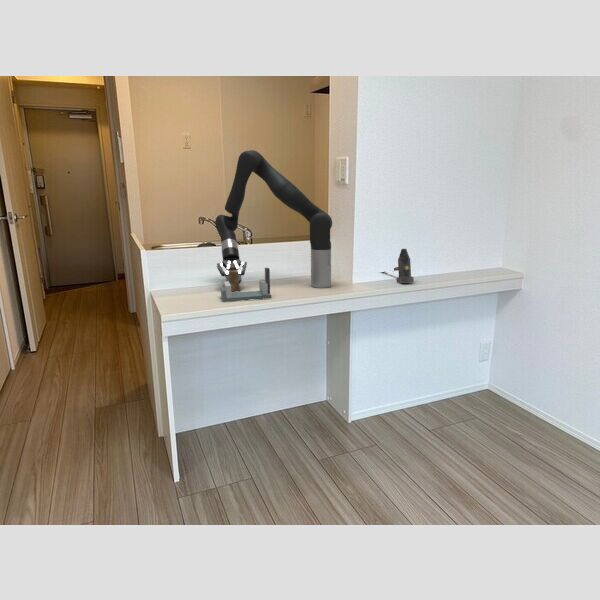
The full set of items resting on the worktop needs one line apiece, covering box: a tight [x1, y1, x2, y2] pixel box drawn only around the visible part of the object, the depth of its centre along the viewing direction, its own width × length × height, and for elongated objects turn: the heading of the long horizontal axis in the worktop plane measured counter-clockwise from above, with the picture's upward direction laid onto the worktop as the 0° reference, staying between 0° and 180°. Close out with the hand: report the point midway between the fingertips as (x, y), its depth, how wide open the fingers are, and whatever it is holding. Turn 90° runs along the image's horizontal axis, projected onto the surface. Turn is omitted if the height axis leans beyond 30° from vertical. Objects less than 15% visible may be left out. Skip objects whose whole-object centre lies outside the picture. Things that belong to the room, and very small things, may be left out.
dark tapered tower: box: [393, 248, 415, 284], centre depth 231 cm, size 6×16×30 cm
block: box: [229, 270, 240, 293], centre depth 207 cm, size 4×5×9 cm
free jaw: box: [258, 267, 271, 295], centre depth 196 cm, size 4×9×10 cm, turn 14°
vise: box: [220, 280, 272, 303], centre depth 195 cm, size 20×9×6 cm, turn 104°
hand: (234, 282), depth 205 cm, fingers closed on block, 4 cm apart
